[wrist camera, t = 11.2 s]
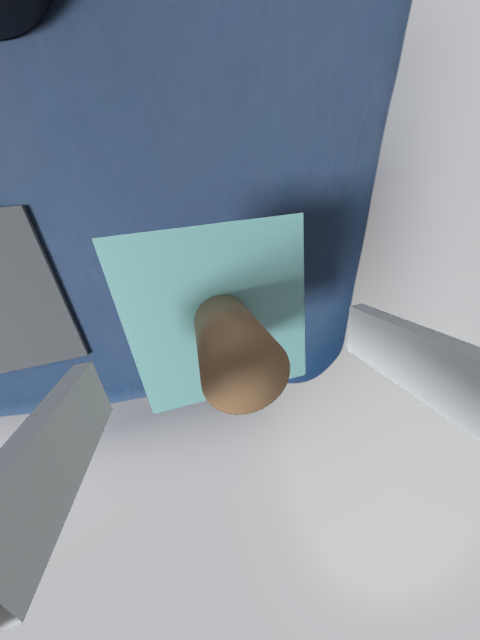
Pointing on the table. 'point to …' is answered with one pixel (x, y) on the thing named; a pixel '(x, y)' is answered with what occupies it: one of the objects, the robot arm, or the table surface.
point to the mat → (31, 300)
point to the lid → (212, 310)
